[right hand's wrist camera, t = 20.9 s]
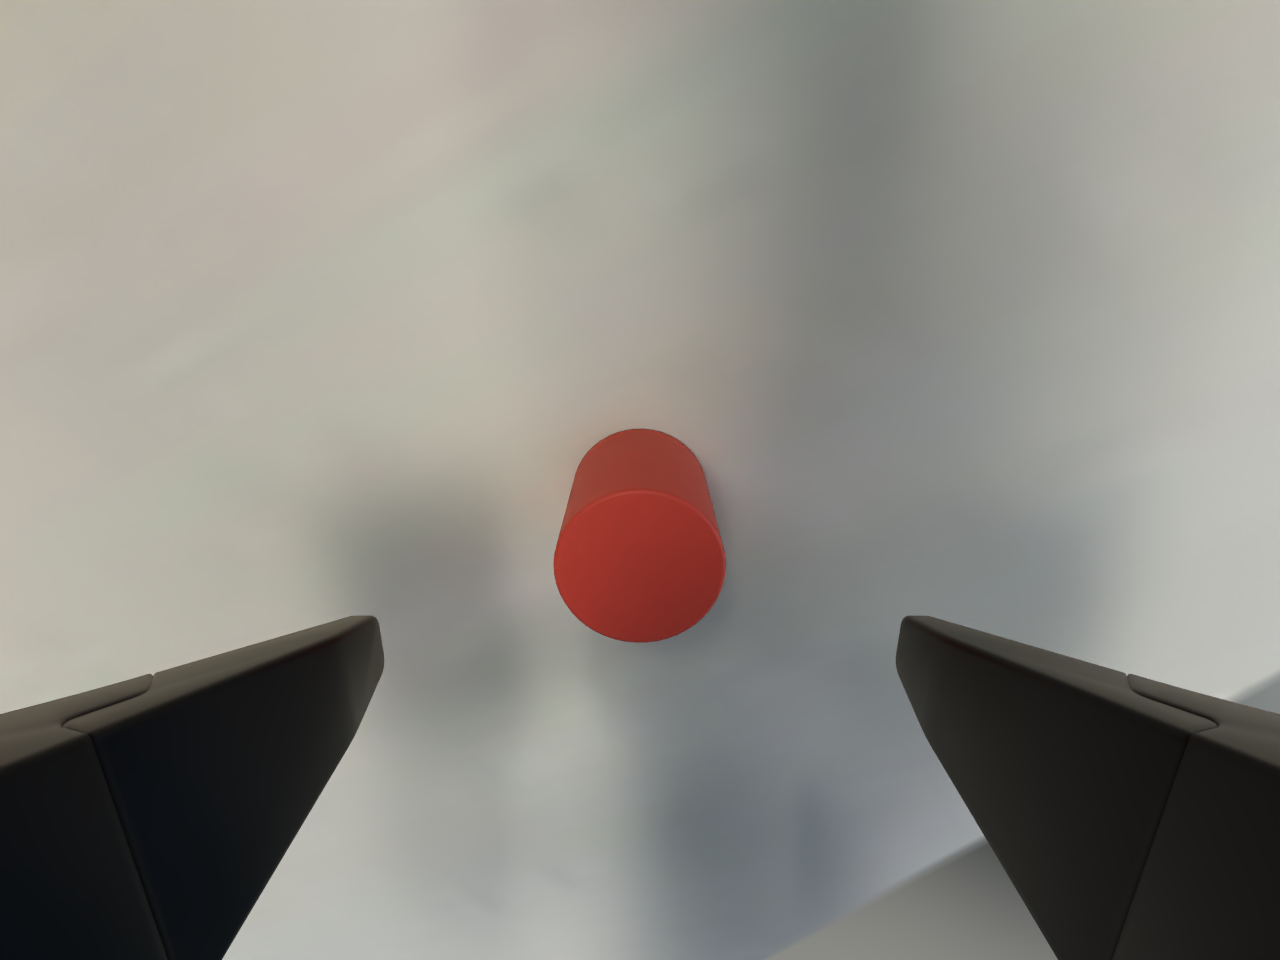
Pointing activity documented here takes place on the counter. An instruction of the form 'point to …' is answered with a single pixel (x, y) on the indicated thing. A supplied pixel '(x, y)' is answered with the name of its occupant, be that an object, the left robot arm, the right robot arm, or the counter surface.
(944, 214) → the counter surface
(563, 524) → the can
